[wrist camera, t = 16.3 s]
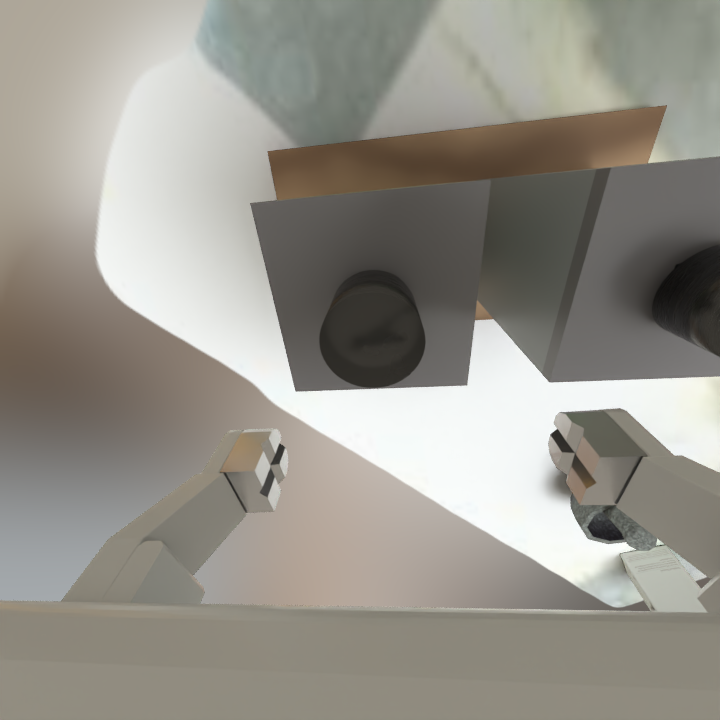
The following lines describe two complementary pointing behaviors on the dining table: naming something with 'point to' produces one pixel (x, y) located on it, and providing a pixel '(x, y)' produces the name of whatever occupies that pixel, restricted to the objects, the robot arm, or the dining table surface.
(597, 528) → the mortar and pestle
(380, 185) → the walnut board
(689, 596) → the supplement box
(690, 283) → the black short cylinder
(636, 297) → the grey block
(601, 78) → the dining table surface
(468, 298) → the olive slotted block
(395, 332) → the black plunger knob
